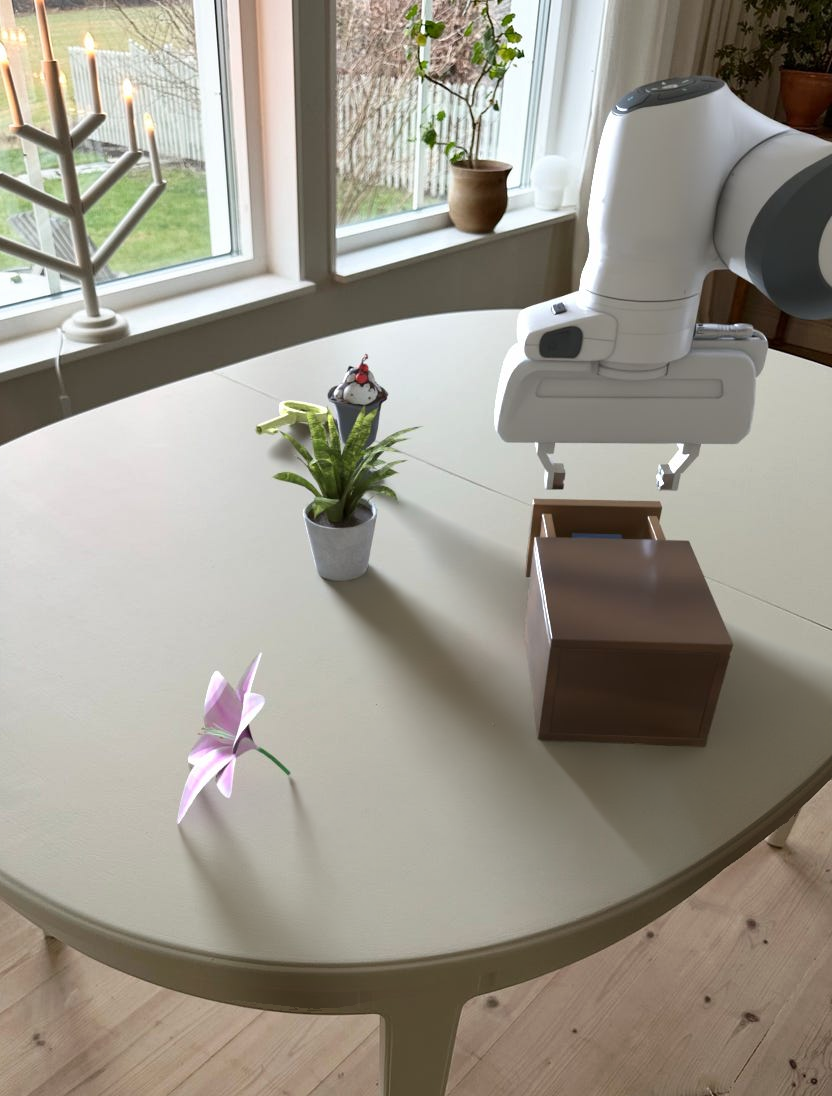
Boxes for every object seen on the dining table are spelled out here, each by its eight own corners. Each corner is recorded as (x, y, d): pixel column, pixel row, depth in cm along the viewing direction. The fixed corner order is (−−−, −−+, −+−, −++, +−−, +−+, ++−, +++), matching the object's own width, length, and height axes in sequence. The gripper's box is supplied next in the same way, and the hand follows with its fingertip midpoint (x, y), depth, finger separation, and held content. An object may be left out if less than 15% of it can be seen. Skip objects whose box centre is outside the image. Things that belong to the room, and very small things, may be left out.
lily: (236, 716, 77) (165, 646, 71) (359, 706, 71) (292, 627, 65) (185, 852, 71) (101, 786, 65) (315, 853, 64) (236, 781, 58)
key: (253, 443, 118) (252, 427, 117) (285, 406, 128) (284, 391, 126) (309, 449, 116) (308, 432, 115) (336, 411, 126) (336, 395, 125)
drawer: (521, 547, 95) (528, 475, 90) (637, 550, 94) (651, 478, 90) (536, 655, 80) (546, 577, 76) (674, 659, 80) (692, 580, 75)
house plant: (405, 621, 86) (409, 454, 77) (257, 607, 88) (243, 443, 79) (424, 543, 98) (429, 389, 88) (292, 532, 100) (284, 381, 90)
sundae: (371, 495, 106) (370, 363, 98) (319, 483, 109) (314, 353, 100) (398, 472, 111) (400, 344, 102) (347, 460, 114) (345, 335, 105)
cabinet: (524, 630, 85) (534, 536, 79) (668, 635, 84) (689, 540, 78) (537, 740, 73) (551, 639, 67) (705, 746, 72) (733, 644, 67)
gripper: (761, 311, 75) (725, 472, 83) (499, 311, 76) (488, 470, 84) (786, 337, 70) (744, 506, 78) (504, 337, 71) (492, 503, 79)
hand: (609, 487), depth 81 cm, fingers open, 8 cm apart
